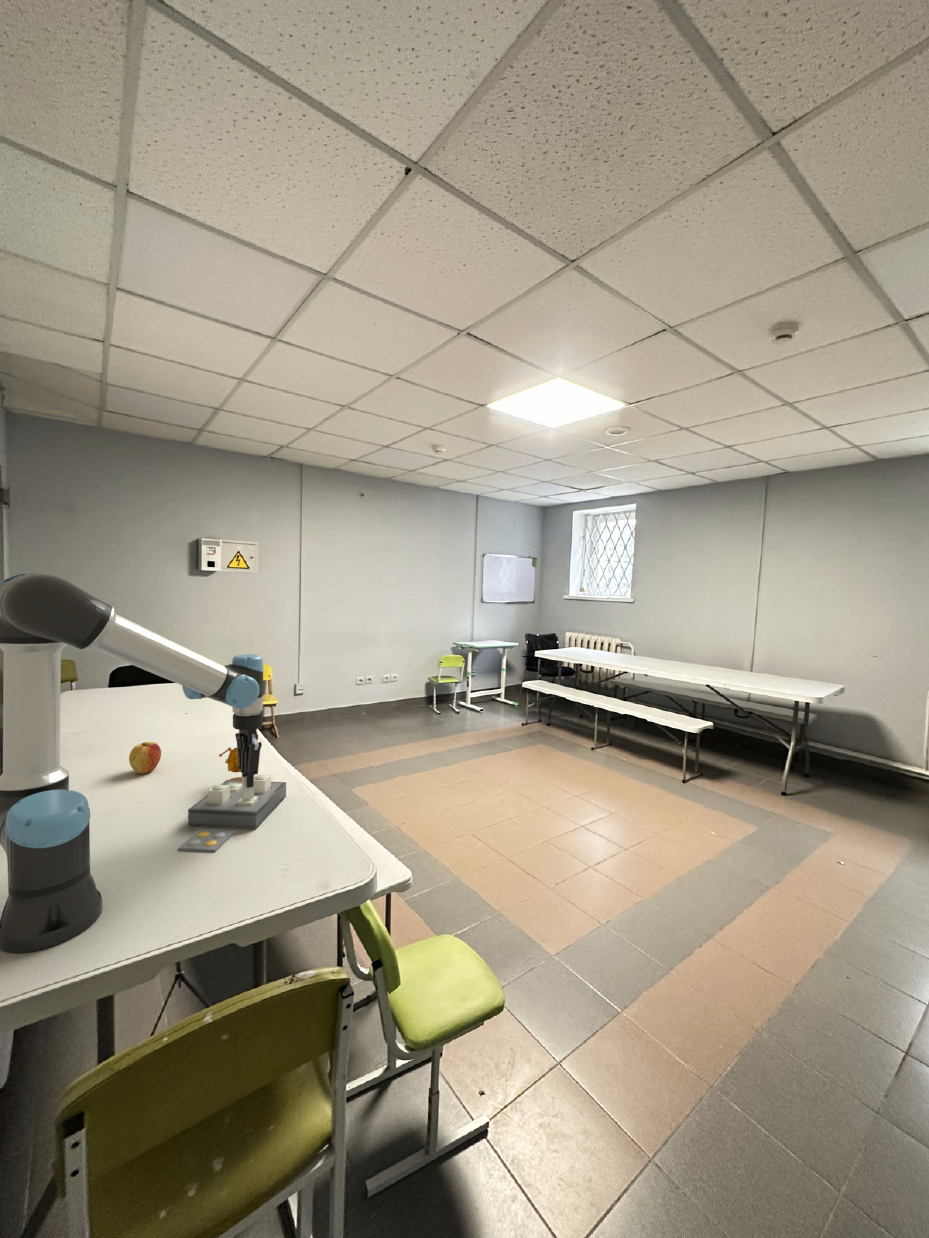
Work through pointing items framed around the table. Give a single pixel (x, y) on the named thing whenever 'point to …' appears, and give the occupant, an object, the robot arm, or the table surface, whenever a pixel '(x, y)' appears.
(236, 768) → the figurine
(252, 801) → the button near right
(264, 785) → the button far right
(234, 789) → the button far left
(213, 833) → the card
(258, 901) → the table surface
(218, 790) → the button near left
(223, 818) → the button box
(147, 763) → the apple
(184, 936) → the table surface
